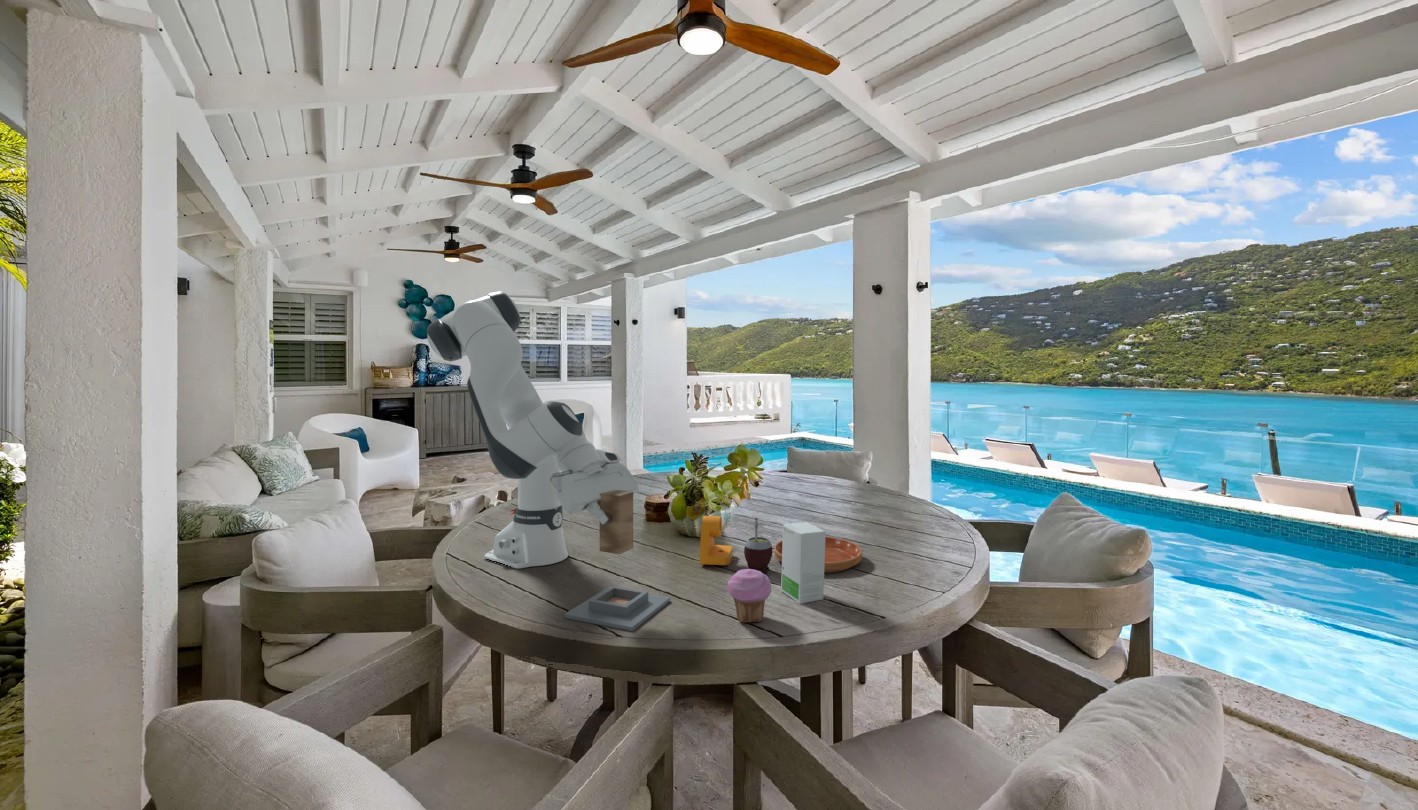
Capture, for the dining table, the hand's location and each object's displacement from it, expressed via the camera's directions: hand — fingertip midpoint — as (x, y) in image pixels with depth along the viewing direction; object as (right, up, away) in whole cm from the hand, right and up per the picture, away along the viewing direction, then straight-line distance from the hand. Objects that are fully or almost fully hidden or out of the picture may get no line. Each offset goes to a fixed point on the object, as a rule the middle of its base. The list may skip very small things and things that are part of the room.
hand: (618, 518), depth 119 cm
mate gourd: (+31, -18, +24) cm, 43 cm away
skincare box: (+40, -19, +8) cm, 45 cm away
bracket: (+21, -18, +33) cm, 43 cm away
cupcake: (+27, -20, -4) cm, 34 cm away
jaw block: (0, -7, +1) cm, 7 cm away
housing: (0, -19, +2) cm, 20 cm away
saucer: (+48, -18, +33) cm, 60 cm away
